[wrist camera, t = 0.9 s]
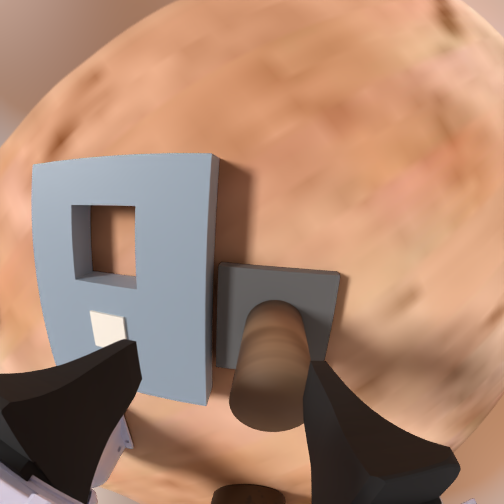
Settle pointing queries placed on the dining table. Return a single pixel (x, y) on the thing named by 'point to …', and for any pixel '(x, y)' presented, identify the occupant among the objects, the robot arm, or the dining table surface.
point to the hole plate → (147, 264)
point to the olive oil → (247, 495)
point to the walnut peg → (271, 368)
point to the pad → (273, 288)
